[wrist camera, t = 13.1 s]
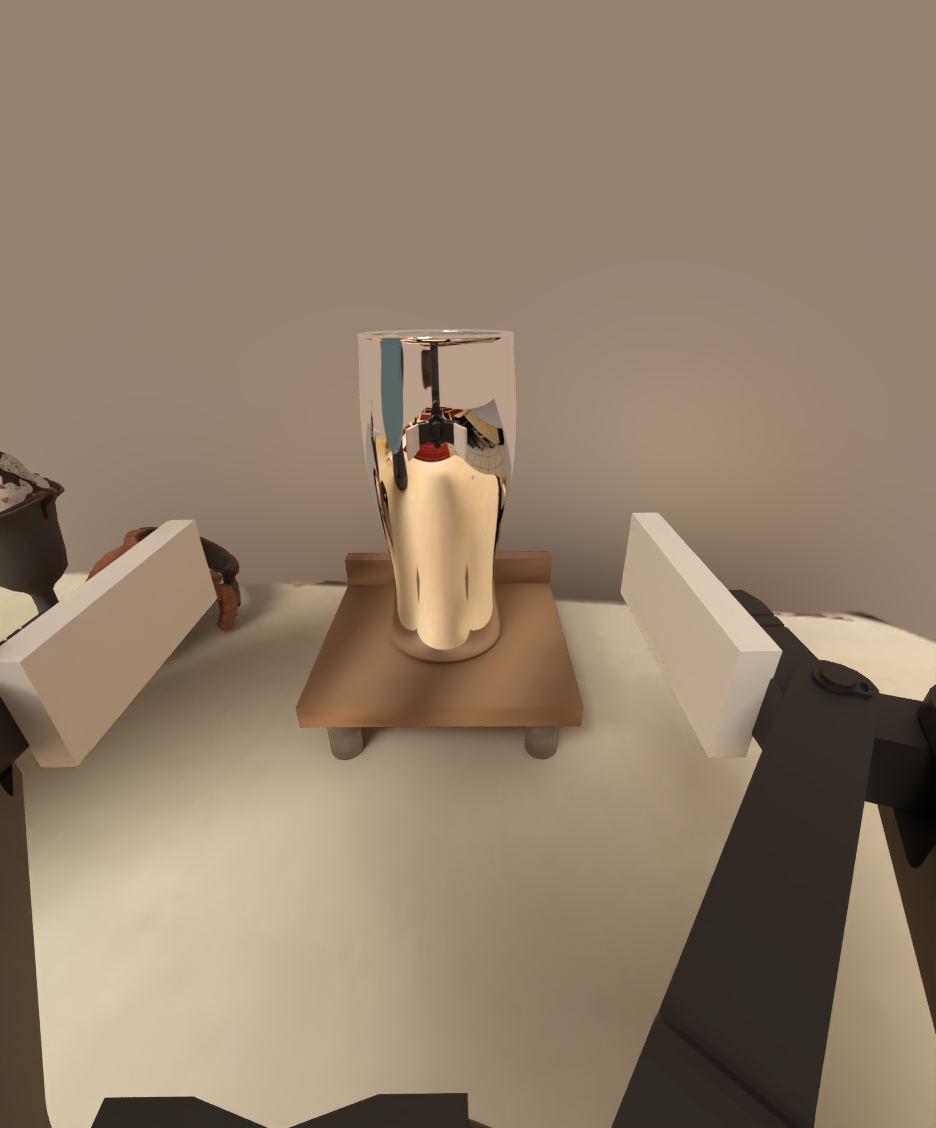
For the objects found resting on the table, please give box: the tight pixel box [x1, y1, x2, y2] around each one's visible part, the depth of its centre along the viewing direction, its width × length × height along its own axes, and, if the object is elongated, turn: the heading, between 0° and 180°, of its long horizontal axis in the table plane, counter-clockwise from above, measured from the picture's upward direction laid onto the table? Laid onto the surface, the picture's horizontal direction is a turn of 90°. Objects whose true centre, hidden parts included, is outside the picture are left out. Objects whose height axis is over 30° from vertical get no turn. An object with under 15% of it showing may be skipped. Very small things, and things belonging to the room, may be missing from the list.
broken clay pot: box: [86, 527, 241, 631], centre depth 34 cm, size 12×10×8 cm
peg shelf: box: [296, 551, 583, 760], centre depth 28 cm, size 13×12×6 cm
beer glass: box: [357, 329, 516, 662], centre depth 24 cm, size 7×7×15 cm
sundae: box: [0, 452, 68, 613], centre depth 32 cm, size 7×7×15 cm
